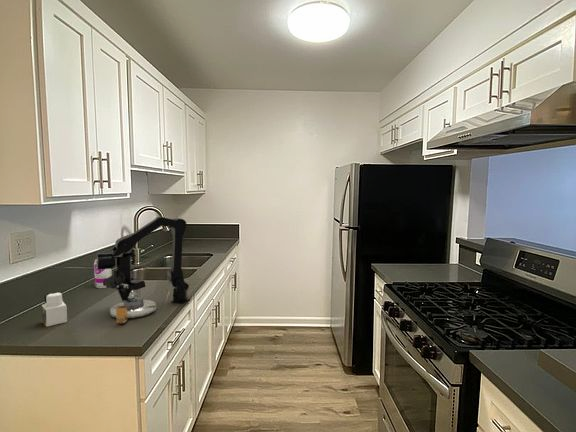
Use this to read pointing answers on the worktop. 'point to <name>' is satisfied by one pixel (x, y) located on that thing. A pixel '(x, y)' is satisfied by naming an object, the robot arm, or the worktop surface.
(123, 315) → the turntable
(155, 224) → the robot arm
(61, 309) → the medicine bottle
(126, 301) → the cover
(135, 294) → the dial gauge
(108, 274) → the supplement can
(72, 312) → the worktop surface
